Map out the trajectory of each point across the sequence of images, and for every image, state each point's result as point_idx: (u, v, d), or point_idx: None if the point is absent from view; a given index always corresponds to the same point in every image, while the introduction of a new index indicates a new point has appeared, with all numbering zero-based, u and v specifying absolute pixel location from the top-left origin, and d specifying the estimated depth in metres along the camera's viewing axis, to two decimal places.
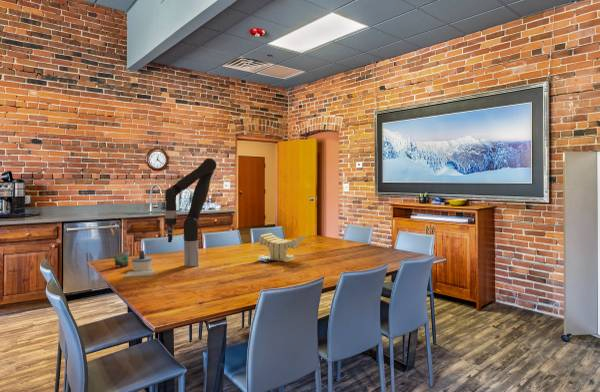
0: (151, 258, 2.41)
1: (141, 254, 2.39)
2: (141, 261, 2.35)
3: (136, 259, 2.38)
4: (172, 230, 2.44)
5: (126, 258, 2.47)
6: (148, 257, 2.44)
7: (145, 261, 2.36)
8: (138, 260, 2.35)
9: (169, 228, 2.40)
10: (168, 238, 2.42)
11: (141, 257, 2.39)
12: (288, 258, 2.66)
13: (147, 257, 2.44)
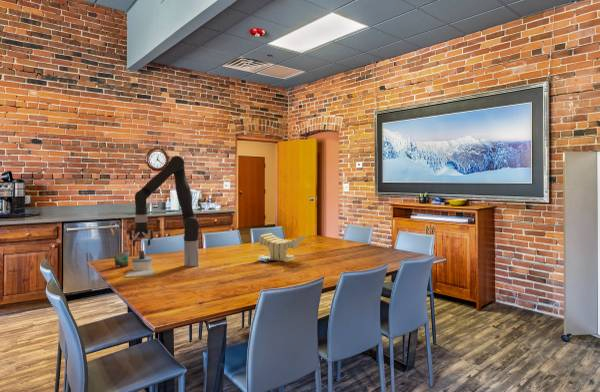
0: (151, 258, 2.41)
1: (141, 254, 2.39)
2: (141, 261, 2.35)
3: (136, 259, 2.38)
4: (146, 233, 2.42)
5: (126, 258, 2.47)
6: (148, 257, 2.44)
7: (145, 261, 2.36)
8: (138, 260, 2.35)
9: (152, 231, 2.41)
10: (148, 242, 2.40)
11: (141, 257, 2.39)
12: (288, 258, 2.66)
13: (147, 257, 2.44)
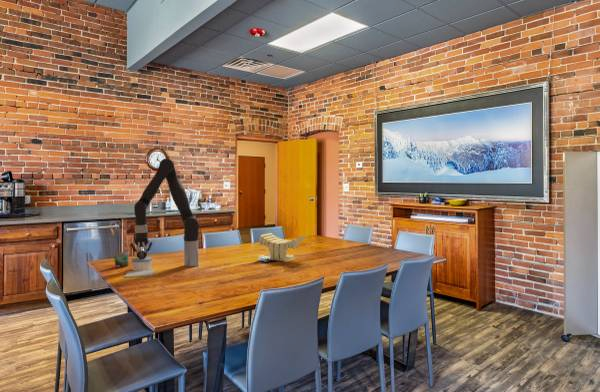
0: (151, 258, 2.41)
1: (141, 254, 2.39)
2: (141, 261, 2.35)
3: (136, 259, 2.38)
4: (145, 244, 2.42)
5: (126, 258, 2.47)
6: (148, 257, 2.44)
7: (145, 261, 2.36)
8: (138, 260, 2.35)
9: (151, 243, 2.41)
10: (145, 253, 2.40)
11: (141, 257, 2.39)
12: (288, 258, 2.66)
13: (147, 257, 2.44)
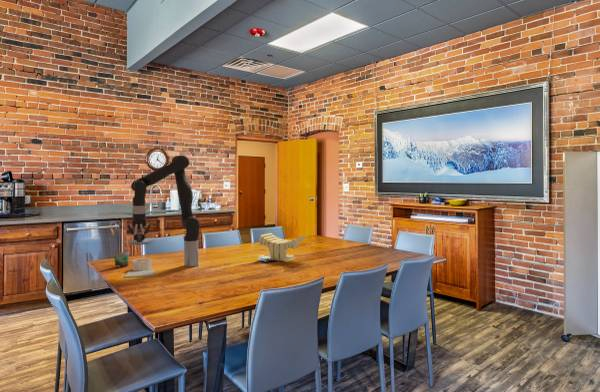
0: (149, 241, 2.28)
1: (139, 237, 2.26)
2: (139, 244, 2.22)
3: (133, 242, 2.25)
4: (143, 227, 2.29)
5: (126, 258, 2.47)
6: (146, 240, 2.31)
7: None
8: (135, 243, 2.22)
9: (150, 225, 2.28)
10: (143, 236, 2.27)
11: (139, 240, 2.26)
12: (288, 258, 2.66)
13: (145, 240, 2.31)
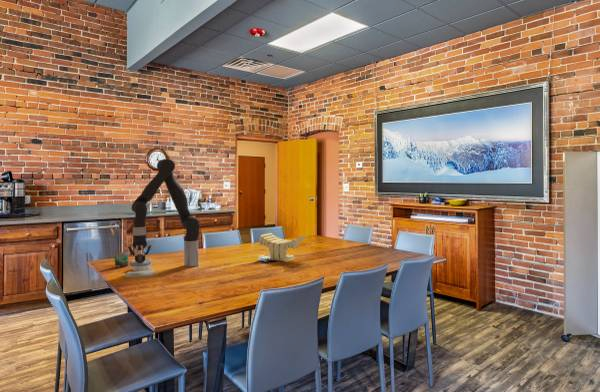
0: (150, 262, 2.28)
1: (139, 258, 2.26)
2: (139, 265, 2.22)
3: (134, 263, 2.25)
4: None
5: (126, 258, 2.47)
6: (147, 261, 2.31)
7: (143, 265, 2.23)
8: (136, 264, 2.22)
9: (150, 246, 2.29)
10: (143, 257, 2.28)
11: (139, 261, 2.26)
12: (288, 258, 2.66)
13: (146, 261, 2.31)
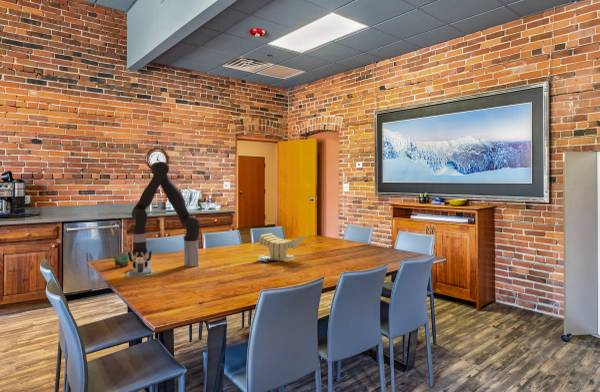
0: (150, 271, 2.29)
1: (140, 267, 2.27)
2: (140, 274, 2.23)
3: (134, 272, 2.26)
4: None
5: (126, 258, 2.47)
6: (147, 270, 2.32)
7: (144, 274, 2.24)
8: (136, 273, 2.23)
9: (151, 252, 2.29)
10: (146, 263, 2.28)
11: (140, 270, 2.27)
12: (288, 258, 2.66)
13: (146, 270, 2.32)
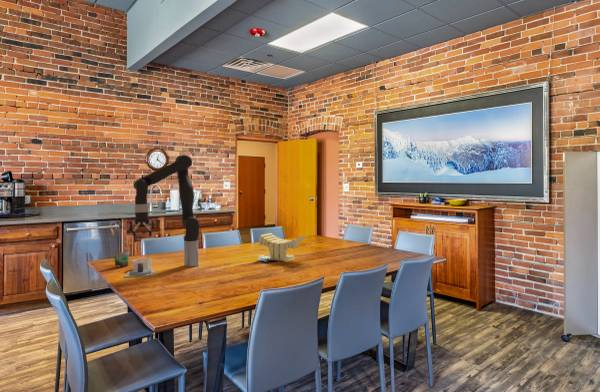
0: (150, 271, 2.29)
1: (140, 267, 2.27)
2: (140, 274, 2.23)
3: (134, 272, 2.26)
4: (147, 224, 2.33)
5: (126, 258, 2.47)
6: (147, 270, 2.32)
7: (144, 274, 2.24)
8: (136, 273, 2.23)
9: (153, 221, 2.32)
10: (150, 232, 2.32)
11: (140, 270, 2.27)
12: (288, 258, 2.66)
13: (146, 270, 2.32)
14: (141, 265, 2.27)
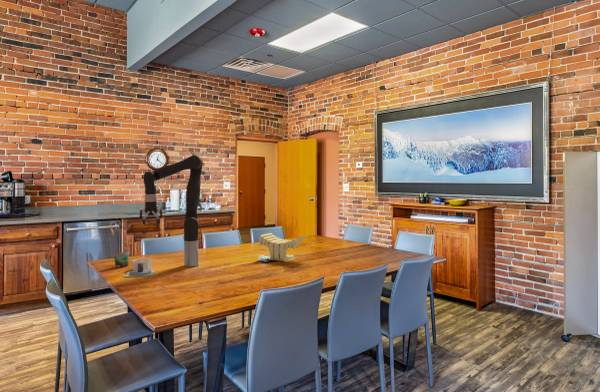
0: (150, 271, 2.29)
1: (140, 267, 2.27)
2: (140, 274, 2.23)
3: (134, 272, 2.26)
4: None
5: (126, 258, 2.47)
6: (147, 270, 2.32)
7: (144, 274, 2.24)
8: (136, 273, 2.23)
9: (161, 210, 2.50)
10: (158, 220, 2.49)
11: (140, 270, 2.27)
12: (288, 258, 2.66)
13: (146, 270, 2.32)
14: (141, 265, 2.27)
